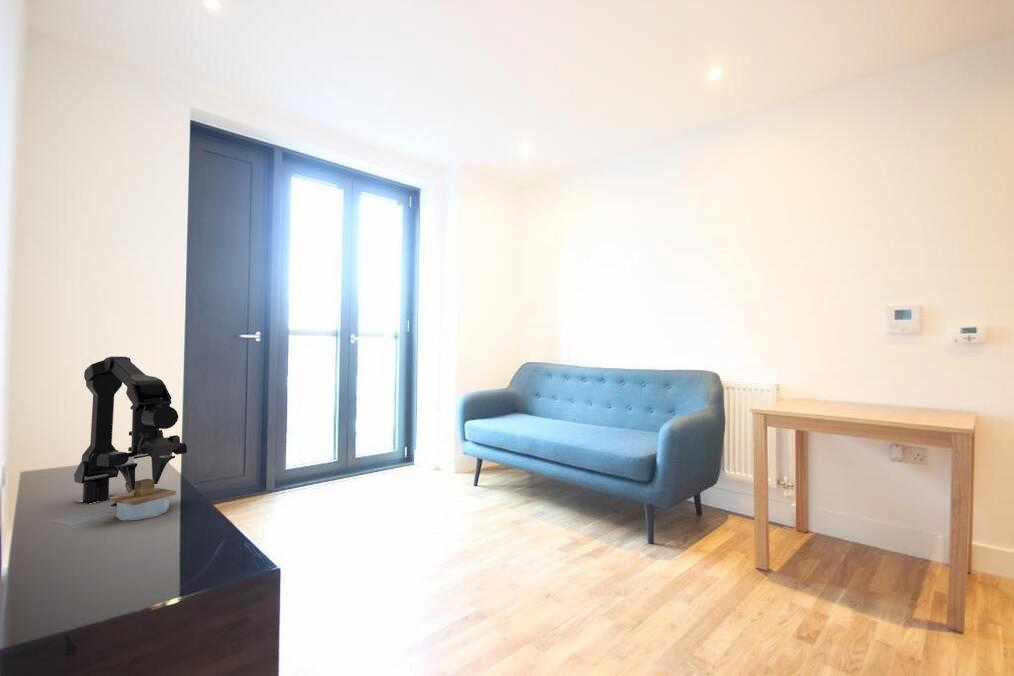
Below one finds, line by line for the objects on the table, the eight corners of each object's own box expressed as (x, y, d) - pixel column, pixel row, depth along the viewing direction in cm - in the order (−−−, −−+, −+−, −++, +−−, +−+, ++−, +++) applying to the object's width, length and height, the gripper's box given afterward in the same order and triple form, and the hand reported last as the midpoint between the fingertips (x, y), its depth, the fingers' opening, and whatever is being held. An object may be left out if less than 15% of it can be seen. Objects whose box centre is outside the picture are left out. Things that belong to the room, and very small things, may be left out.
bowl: (109, 519, 117) (110, 501, 117) (152, 507, 126) (152, 490, 127) (133, 523, 113) (133, 505, 114) (175, 511, 123) (176, 494, 123)
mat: (48, 522, 115) (48, 520, 115) (96, 510, 125) (96, 508, 125) (70, 527, 112) (70, 525, 112) (118, 514, 121) (118, 513, 121)
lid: (110, 501, 117) (110, 483, 118) (152, 491, 127) (153, 474, 127) (133, 505, 114) (134, 487, 114) (176, 494, 123) (176, 477, 123)
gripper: (123, 433, 109) (121, 499, 109) (201, 423, 127) (200, 480, 126) (96, 431, 114) (94, 495, 113) (175, 422, 131) (174, 477, 130)
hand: (144, 486), depth 120 cm, fingers open, 5 cm apart
